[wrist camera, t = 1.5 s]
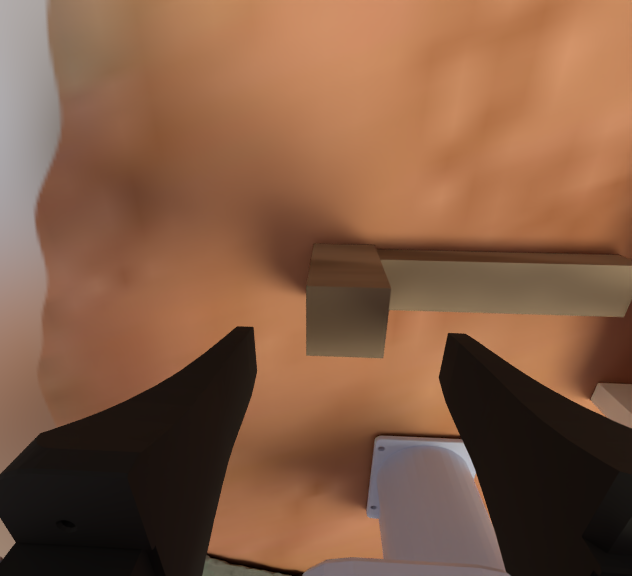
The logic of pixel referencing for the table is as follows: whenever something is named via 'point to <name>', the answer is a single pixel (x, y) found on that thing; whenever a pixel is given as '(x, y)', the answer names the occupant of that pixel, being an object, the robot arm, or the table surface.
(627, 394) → the plinth shelf
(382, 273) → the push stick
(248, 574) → the stone slab
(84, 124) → the table surface
